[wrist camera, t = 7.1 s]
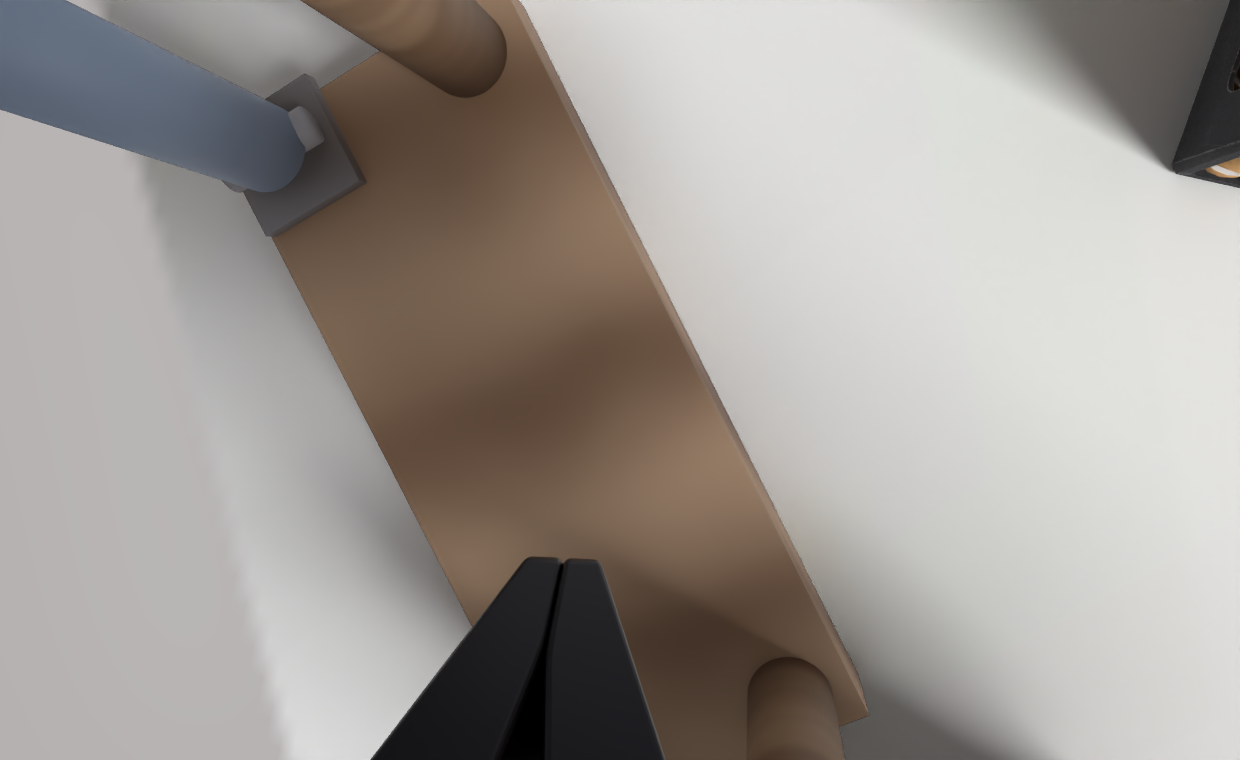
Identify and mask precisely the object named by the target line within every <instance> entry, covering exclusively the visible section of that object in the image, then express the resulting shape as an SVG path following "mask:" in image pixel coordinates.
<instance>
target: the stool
mask: <svg viewBox="0 0 1240 760" xmlns="http://www.w3.org/2000/svg"><path fill="white" fill-rule="evenodd" d="M301 1H302V2H304V3H305V4H307V5H308V6H310V7H312V8H313V9H315V10H316V11H318V12H320V13H321V14H323V15H324V16H326V17H327V18H329V19H331V20H332V21H334V22H335V23H337V24H338V25H340V26H342V27H343V28H345V29H346V30H348V31H349V32H351V33H353V34H354V35H356V36H357V37H359V38H361V39H362V40H364V41H365V42H367V43H368V44H370V45H372V46H373V47H375V48H376V49H378V50H379V52H378V53H376V54H375V55H373V56H371V57H370V58H368V59H367V60H365V61H364V62H362V63H360V64H359V65H357V66H356V67H354V68H353V69H351V70H349V71H348V72H346V73H345V74H343V75H341V76H340V77H338V78H337V79H335V80H334V81H332V82H330V83H329V84H327V85H326V86H324V87H323V88H321V89H319V87H318V85H317V83H316V81H315V79H314V78H313V77H311V76H308V75H306V74H304V75H302V76H300V77H299V78H297V79H296V80H294V81H293V82H291V83H290V84H288V85H286V86H285V87H283V88H282V89H280V90H279V91H277V92H276V93H274V94H272V95H271V96H269V97H268V98H266V99H265V100H267V101H269V102H271V103H273V104H275V105H277V106H279V107H281V108H283V109H285V110H286V111H288V112H290V111H291V110H293V109H295V108H296V107H298V106H301V107H303V108H305V109H306V110H307V111H309V112H310V113H311V114H312V116H313V117H314V118H315V119H316V121H317V122H318V124H319V125H320V127H321V129H322V131H323V134H324V141H323V142H322V143H320V144H319V145H317V146H316V147H314V148H312V149H311V150H309V151H307V152H306V153H305V156H304V160H303V163H302V166H301V168H300V170H299V172H298V173H297V175H296V176H295V178H294V179H293V180H292V181H291V182H290V183H289V184H288V185H286V186H285V187H283V188H281V189H279V190H276V191H273V192H258V191H254V190H251V189H248V188H247V189H246V190H244V191H243V192H244V194H245V196H246V198H247V200H248V202H249V204H250V206H251V208H252V210H253V212H254V214H255V216H256V218H257V220H258V221H259V223H260V225H261V227H262V229H263V231H264V233H265V235H266V236H270V237H272V239H273V241H274V243H275V245H276V247H277V249H278V251H279V253H280V255H281V256H282V258H283V260H284V262H285V264H286V266H287V268H288V270H289V272H290V274H291V276H292V278H293V280H294V282H295V284H296V286H297V288H298V289H299V291H300V293H301V295H302V297H303V299H304V301H305V303H306V305H307V307H308V309H309V311H310V313H311V315H312V317H313V319H314V321H315V322H316V324H317V326H318V328H319V330H320V332H321V334H322V336H323V338H324V340H325V342H326V344H327V346H328V348H329V350H330V352H331V354H332V355H333V357H334V359H335V361H336V363H337V365H338V367H339V369H340V371H341V373H342V375H343V377H344V379H345V381H346V383H347V385H348V387H349V388H350V390H351V392H352V394H353V396H354V398H355V400H356V402H357V404H358V406H359V408H360V410H361V412H362V414H363V416H364V418H365V420H366V421H367V423H368V425H369V427H370V429H371V431H372V433H373V435H374V437H375V439H376V441H377V443H378V445H379V447H380V449H381V451H382V453H383V454H384V456H385V458H386V460H387V462H388V464H389V466H390V468H391V470H392V472H393V474H394V476H395V478H396V480H397V482H398V484H399V486H400V487H401V489H402V491H403V493H404V495H405V497H406V499H407V501H408V503H409V505H410V507H411V509H412V511H413V513H414V515H415V517H416V519H417V520H418V522H419V524H420V526H421V528H422V530H423V532H424V534H425V536H426V538H427V540H428V542H429V544H430V546H431V548H432V550H433V552H434V553H435V555H436V557H437V559H438V561H439V563H440V565H441V567H442V569H443V571H444V573H445V575H446V577H447V579H448V581H449V583H450V585H451V586H452V588H453V590H454V592H455V594H456V596H457V598H458V600H459V602H460V604H461V606H462V608H463V610H464V612H465V614H466V616H467V618H468V619H469V621H470V623H471V625H472V627H473V625H474V624H475V623H476V622H477V620H478V619H479V618H480V616H481V615H482V614H483V612H484V611H485V610H486V608H487V607H488V606H489V605H490V603H491V602H492V601H493V599H494V598H495V597H496V595H497V594H498V593H499V592H500V590H501V589H502V588H503V586H504V585H505V584H506V582H507V581H508V580H509V579H510V577H511V576H512V575H513V573H514V572H515V571H516V569H517V568H518V567H519V565H520V564H521V563H522V562H523V561H524V560H525V559H526V558H528V557H530V556H539V557H557V558H560V559H561V560H562V561H563V564H564V562H565V560H567V559H569V558H579V559H596V560H598V561H600V563H601V564H602V566H603V569H604V572H605V575H606V578H607V581H608V584H609V587H610V590H611V593H612V596H613V600H614V603H615V606H616V609H617V612H618V615H619V618H620V621H621V624H622V627H623V630H624V633H625V636H626V639H627V642H628V646H629V649H630V652H631V655H632V658H633V661H634V664H635V667H636V670H637V673H638V676H639V679H640V682H641V685H642V689H643V692H644V695H645V698H646V701H647V704H648V707H649V710H650V713H651V716H652V719H653V722H654V725H655V728H656V731H657V735H658V738H659V741H660V744H661V747H662V750H663V753H664V756H665V759H666V760H845V754H844V749H843V744H842V739H841V734H840V729H839V727H840V726H843V725H845V724H848V723H851V722H853V721H856V720H858V719H861V718H864V717H866V716H869V713H868V709H867V705H866V701H865V698H864V694H863V690H862V687H861V683H860V679H859V676H858V673H857V671H856V669H855V667H854V665H853V663H852V661H851V659H850V657H849V655H848V653H847V651H846V649H845V647H844V645H843V643H842V641H841V639H840V637H839V635H838V633H837V631H836V629H835V627H834V625H833V623H832V621H831V619H830V617H829V615H828V613H827V611H826V609H825V607H824V605H823V603H822V601H821V599H820V597H819V595H818V593H817V591H816V589H815V587H814V585H813V583H812V581H811V579H810V577H809V575H808V573H807V571H806V569H805V567H804V565H803V563H802V561H801V559H800V557H799V555H798V553H797V551H796V549H795V547H794V545H793V543H792V541H791V539H790V537H789V535H788V533H787V531H786V529H785V527H784V525H783V523H782V521H781V519H780V517H779V515H778V513H777V511H776V509H775V507H774V505H773V503H772V501H771V499H770V497H769V495H768V493H767V491H766V489H765V487H764V485H763V483H762V481H761V480H760V478H759V476H758V474H757V472H756V470H755V468H754V466H753V464H752V462H751V460H750V458H749V456H748V454H747V452H746V450H745V448H744V446H743V444H742V442H741V440H740V438H739V436H738V434H737V432H736V430H735V428H734V426H733V424H732V422H731V420H730V418H729V416H728V414H727V412H726V410H725V408H724V406H723V404H722V402H721V400H720V398H719V396H718V394H717V392H716V390H715V388H714V386H713V384H712V382H711V380H710V378H709V376H708V374H707V372H706V370H705V368H704V366H703V364H702V362H701V360H700V358H699V356H698V354H697V352H696V350H695V348H694V346H693V344H692V342H691V340H690V338H689V336H688V334H687V332H686V330H685V328H684V326H683V324H682V322H681V320H680V318H679V316H678V314H677V312H676V310H675V308H674V306H673V304H672V302H671V300H670V298H669V296H668V294H667V292H666V290H665V288H664V286H663V284H662V282H661V280H660V278H659V276H658V274H657V272H656V270H655V268H654V266H653V264H652V262H651V260H650V258H649V256H648V254H647V252H646V250H645V248H644V246H643V244H642V242H641V240H640V238H639V236H638V234H637V232H636V230H635V228H634V226H633V224H632V222H631V220H630V218H629V216H628V214H627V212H626V210H625V208H624V206H623V204H622V202H621V200H620V198H619V196H618V194H617V192H616V190H615V188H614V186H613V184H612V182H611V180H610V178H609V176H608V174H607V172H606V170H605V168H604V166H603V164H602V162H601V160H600V158H599V156H598V154H597V152H596V150H595V148H594V146H593V144H592V142H591V140H590V138H589V136H588V134H587V132H586V130H585V128H584V126H583V124H582V122H581V120H580V118H579V116H578V114H577V112H576V110H575V108H574V106H573V104H572V102H571V100H570V98H569V96H568V94H567V92H566V90H565V88H564V86H563V84H562V82H561V80H560V78H559V76H558V74H557V72H556V70H555V68H554V66H553V64H552V62H551V60H550V58H549V56H548V54H547V52H546V50H545V48H544V46H543V44H542V42H541V40H540V38H539V36H538V34H537V32H536V30H535V28H534V26H533V24H532V22H531V20H530V18H529V16H528V14H527V12H526V10H525V8H524V6H523V5H522V4H521V2H520V1H519V0H301Z"/></svg>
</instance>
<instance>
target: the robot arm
mask: <svg viewBox="0 0 1240 760" xmlns="http://www.w3.org/2000/svg"><path fill="white" fill-rule="evenodd" d="M371 760H666V759H665V756H664V753H663V750H662V747H661V744H660V741H659V738H658V735H657V731H656V728H655V725H654V722H653V719H652V716H651V713H650V710H649V707H648V704H647V701H646V698H645V695H644V692H643V689H642V685H641V682H640V679H639V676H638V673H637V670H636V667H635V664H634V661H633V658H632V655H631V652H630V649H629V646H628V642H627V639H626V636H625V633H624V630H623V627H622V624H621V621H620V618H619V615H618V612H617V609H616V606H615V603H614V600H613V596H612V593H611V590H610V587H609V584H608V581H607V578H606V575H605V572H604V569H603V566H602V564H601V563H600V561H598V560H596V559H579V558H569V559H567V560H565V562H564V564H563V561H562V560H561V559H560V558H557V557H539V556H530V557H528V558H526V559H525V560H524V561H523V562H522V563H521V564H520V565H519V567H518V568H517V569H516V571H515V572H514V573H513V575H512V576H511V577H510V579H509V580H508V581H507V582H506V584H505V585H504V586H503V588H502V589H501V590H500V592H499V593H498V594H497V595H496V597H495V598H494V599H493V601H492V602H491V603H490V605H489V606H488V607H487V608H486V610H485V611H484V612H483V614H482V615H481V616H480V618H479V619H478V620H477V622H476V623H475V624H474V625H473V627H472V628H471V629H470V631H469V632H468V633H467V635H466V636H465V637H464V638H463V640H462V641H461V642H460V644H459V645H458V646H457V648H456V649H455V650H454V652H453V653H452V654H451V655H450V657H449V658H448V659H447V661H446V662H445V663H444V665H443V666H442V667H441V668H440V670H439V671H438V672H437V674H436V675H435V676H434V678H433V679H432V680H431V681H430V683H429V684H428V685H427V687H426V688H425V689H424V691H423V692H422V693H421V695H420V696H419V697H418V698H417V700H416V701H415V702H414V704H413V705H412V706H411V708H410V709H409V710H408V711H407V713H406V714H405V715H404V717H403V718H402V719H401V721H400V722H399V723H398V724H397V726H396V727H395V728H394V730H393V731H392V732H391V734H390V735H389V736H388V738H387V739H386V740H385V741H384V743H383V744H382V745H381V747H380V748H379V749H378V751H377V752H376V753H375V754H374V756H373V757H372V758H371Z"/></svg>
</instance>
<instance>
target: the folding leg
mask: <svg viewBox="0 0 1240 760" xmlns="http://www.w3.org/2000/svg"><path fill="white" fill-rule="evenodd" d="M0 109H1V110H3V111H7V112H10V113H13V114H16V115H19V116H22V117H25V118H29V119H32V120H35V121H38V122H41V123H44V124H47V125H51V126H54V127H57V128H60V129H63V130H66V131H70V132H72V133H76V134H79V135H82V136H85V137H88V138H91V139H95V140H98V141H101V142H104V143H107V144H110V145H113V146H116V147H120V148H123V149H126V150H129V151H132V152H135V153H138V154H141V155H145V156H148V157H151V158H154V159H157V160H160V161H163V162H166V163H170V164H173V165H176V166H179V167H182V168H185V169H188V170H192V171H195V172H198V173H201V174H204V175H207V176H210V177H213V178H217V179H220V180H222V181H223V182H224V183H225V185H227V186H228V187H229V188H230V189H232V190H233V191H235V192H243V191H244V190H246V189H247V188H248V189H251V190H254V191H258V192H273V191H276V190H279V189H281V188H283V187H285V186H286V185H288V184H289V183H290V182H291V181H292V180H293V179H294V178H295V176H296V175H297V173H298V172H299V170H300V168H301V166H302V163H303V160H304V156H305V153H306V152H307V151H309V150H311V149H312V148H314V147H316V146H317V145H319V144H320V143H322V142H323V141H324V134H323V131H322V129H321V127H320V125H319V124H318V122H317V121H316V119H315V118H314V117H313V116H312V114H311V113H310V112H309V111H307V110H306V109H305V108H303V107H301V106H298V107H296V108H295V109H293V110H291V111H290V112H288V111H286V110H285V109H283V108H281V107H279V106H277V105H275V104H273V103H271V102H269V101H267V100H265V99H263V98H261V97H259V96H257V95H255V94H253V93H251V92H249V91H247V90H245V89H243V88H241V87H239V86H237V85H235V84H233V83H231V82H229V81H227V80H225V79H223V78H221V77H219V76H217V75H215V74H213V73H211V72H209V71H207V70H205V69H203V68H201V67H199V66H197V65H195V64H193V63H191V62H189V61H187V60H185V59H183V58H181V57H179V56H177V55H175V54H173V53H171V52H169V51H167V50H165V49H162V48H160V47H158V46H156V45H154V44H152V43H150V42H148V41H146V40H144V39H142V38H140V37H138V36H136V35H134V34H132V33H130V32H128V31H126V30H124V29H122V28H120V27H118V26H116V25H114V24H112V23H110V22H108V21H106V20H104V19H102V18H100V17H98V16H96V15H94V14H92V13H90V12H88V11H86V10H84V9H82V8H80V7H78V6H76V5H74V4H72V3H70V2H68V1H66V0H0Z"/></svg>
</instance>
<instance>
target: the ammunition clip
mask: <svg viewBox="0 0 1240 760" xmlns="http://www.w3.org/2000/svg"><path fill="white" fill-rule="evenodd" d="M1172 166H1173V168H1174V170H1175V173H1176V174H1179V175H1184V176H1188V177H1193V178H1197V179H1202V180H1206V181H1211V182H1215V183H1220V184H1224V185H1228V186H1233V187H1237V188H1240V0H1230V2H1229V5H1228V8H1227V11H1226V14H1225V17H1224V19H1223V22H1222V25H1221V28H1220V31H1219V33H1218V36H1217V39H1216V42H1215V45H1214V48H1213V50H1212V53H1211V56H1210V59H1209V62H1208V65H1207V67H1206V70H1205V73H1204V76H1203V79H1202V81H1201V84H1200V87H1199V90H1198V93H1197V96H1196V98H1195V101H1194V104H1193V107H1192V110H1191V112H1190V115H1189V118H1188V121H1187V124H1186V127H1185V129H1184V132H1183V135H1182V138H1181V141H1180V144H1179V146H1178V149H1177V152H1176V155H1175V158H1174V160H1173V163H1172Z"/></svg>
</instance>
